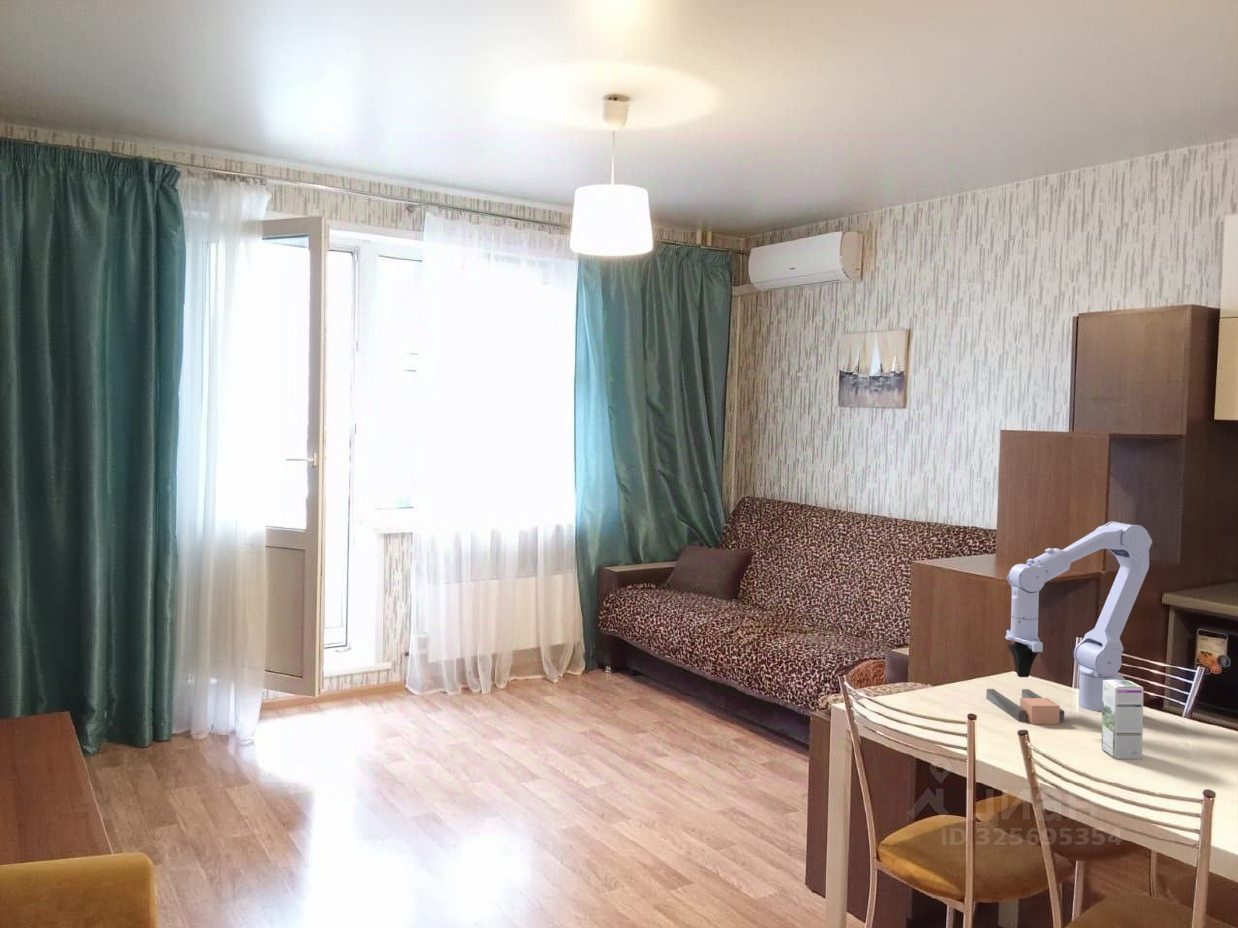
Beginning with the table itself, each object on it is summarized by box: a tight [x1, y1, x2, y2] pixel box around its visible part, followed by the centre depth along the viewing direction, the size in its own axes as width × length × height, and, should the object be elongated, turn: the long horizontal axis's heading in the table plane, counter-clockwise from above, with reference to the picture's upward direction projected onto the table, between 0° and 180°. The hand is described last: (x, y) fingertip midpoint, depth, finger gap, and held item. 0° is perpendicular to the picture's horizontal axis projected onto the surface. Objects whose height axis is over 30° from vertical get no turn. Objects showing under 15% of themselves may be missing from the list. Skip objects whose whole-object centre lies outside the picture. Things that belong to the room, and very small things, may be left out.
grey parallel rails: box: [985, 688, 1066, 723], centre depth 224 cm, size 12×24×4 cm, turn 1°
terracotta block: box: [1019, 697, 1061, 725], centre depth 216 cm, size 6×6×4 cm
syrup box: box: [1101, 679, 1144, 760], centre depth 197 cm, size 6×6×14 cm
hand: (1022, 676), depth 225 cm, fingers closed
